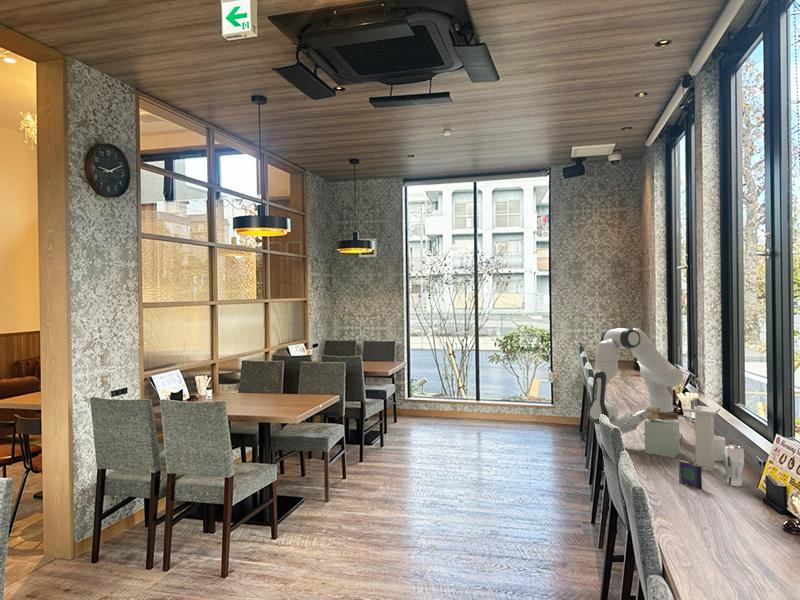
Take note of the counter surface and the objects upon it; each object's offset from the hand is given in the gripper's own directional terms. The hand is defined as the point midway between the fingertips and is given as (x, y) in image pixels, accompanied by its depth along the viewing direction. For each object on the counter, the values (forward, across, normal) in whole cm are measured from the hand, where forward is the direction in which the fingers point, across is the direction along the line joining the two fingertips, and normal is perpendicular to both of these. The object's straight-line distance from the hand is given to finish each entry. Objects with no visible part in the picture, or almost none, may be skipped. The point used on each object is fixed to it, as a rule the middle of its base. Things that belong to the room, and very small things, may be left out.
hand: (653, 411), depth 256 cm
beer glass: (+22, -29, +36) cm, 51 cm away
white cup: (+12, +5, +30) cm, 32 cm away
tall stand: (+10, -13, +28) cm, 33 cm away
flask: (+11, -41, +29) cm, 52 cm away
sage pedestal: (-6, 0, +19) cm, 20 cm away
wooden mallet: (+2, 0, +5) cm, 5 cm away
